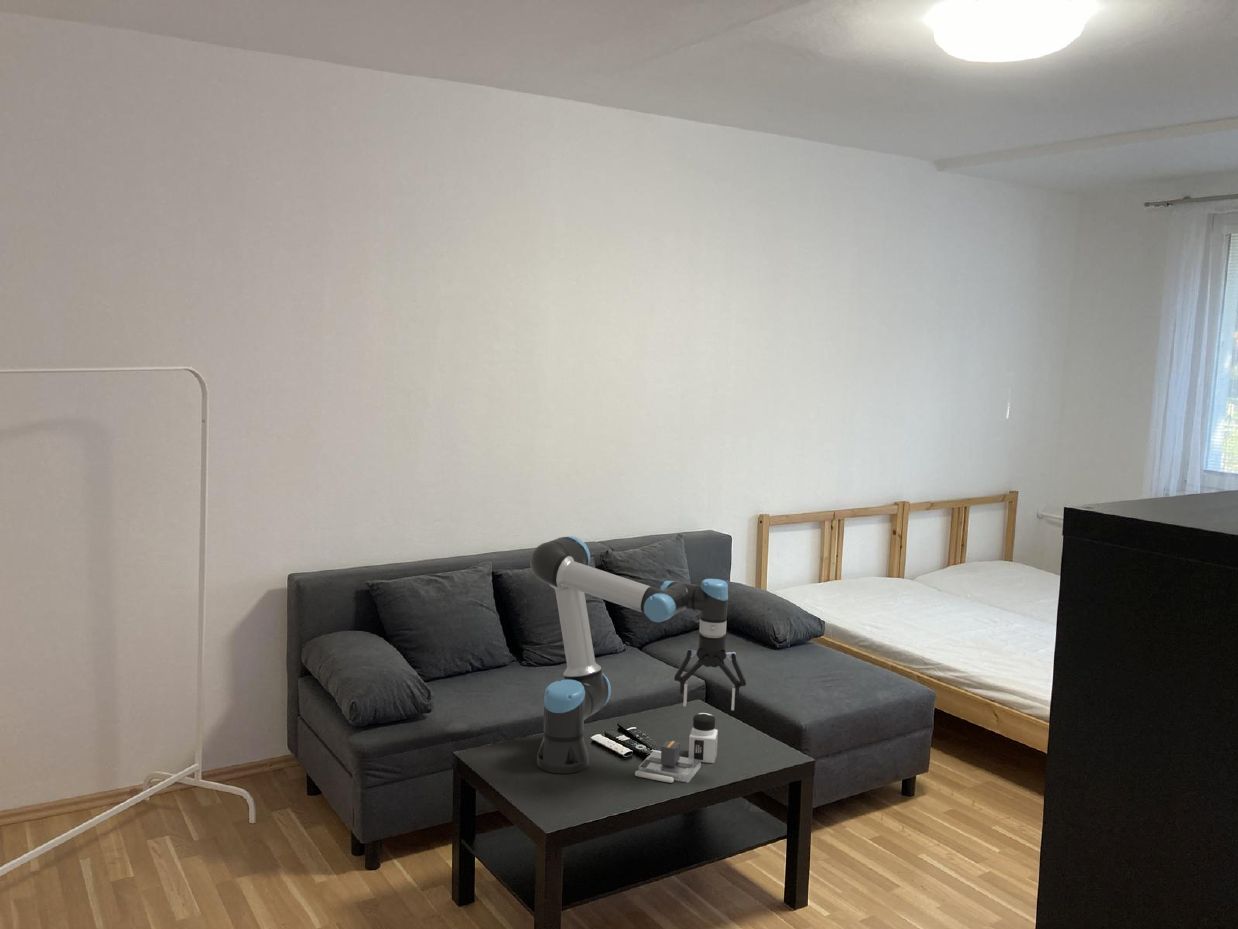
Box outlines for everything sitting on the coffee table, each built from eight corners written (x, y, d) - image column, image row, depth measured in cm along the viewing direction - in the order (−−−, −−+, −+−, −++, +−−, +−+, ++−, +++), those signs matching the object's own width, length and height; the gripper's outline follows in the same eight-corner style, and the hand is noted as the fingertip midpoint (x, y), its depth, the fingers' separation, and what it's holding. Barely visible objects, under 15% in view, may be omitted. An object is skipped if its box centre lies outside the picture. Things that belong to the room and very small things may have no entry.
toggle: (660, 763, 287) (661, 746, 287) (666, 757, 292) (667, 740, 291) (674, 765, 286) (674, 748, 285) (679, 759, 290) (680, 742, 290)
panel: (638, 773, 286) (638, 765, 286) (652, 758, 297) (652, 750, 297) (688, 782, 281) (688, 775, 281) (700, 766, 292) (701, 759, 292)
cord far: (640, 754, 300) (640, 748, 300) (642, 752, 301) (642, 747, 301) (677, 760, 296) (677, 755, 296) (678, 758, 297) (678, 753, 297)
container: (714, 763, 294) (715, 721, 293) (688, 761, 296) (689, 718, 294) (716, 753, 302) (718, 712, 300) (691, 751, 303) (693, 709, 302)
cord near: (634, 776, 284) (634, 771, 284) (636, 774, 285) (636, 769, 285) (672, 784, 280) (672, 778, 279) (674, 782, 281) (674, 776, 281)
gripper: (667, 634, 279) (664, 707, 282) (757, 641, 277) (752, 715, 279) (669, 627, 287) (666, 698, 289) (756, 633, 284) (752, 705, 286)
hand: (708, 706), depth 284 cm, fingers open, 13 cm apart
